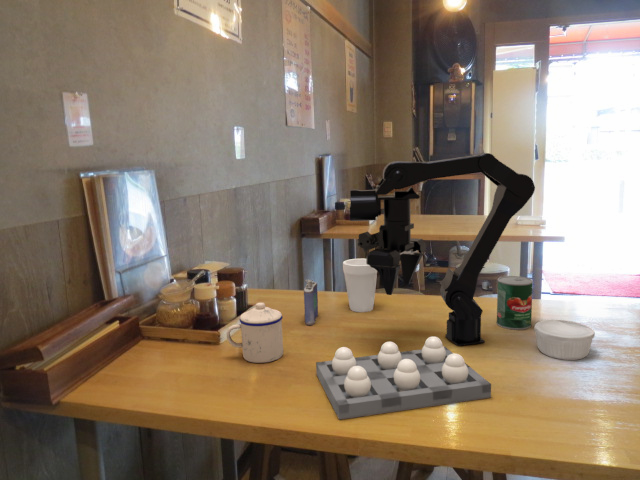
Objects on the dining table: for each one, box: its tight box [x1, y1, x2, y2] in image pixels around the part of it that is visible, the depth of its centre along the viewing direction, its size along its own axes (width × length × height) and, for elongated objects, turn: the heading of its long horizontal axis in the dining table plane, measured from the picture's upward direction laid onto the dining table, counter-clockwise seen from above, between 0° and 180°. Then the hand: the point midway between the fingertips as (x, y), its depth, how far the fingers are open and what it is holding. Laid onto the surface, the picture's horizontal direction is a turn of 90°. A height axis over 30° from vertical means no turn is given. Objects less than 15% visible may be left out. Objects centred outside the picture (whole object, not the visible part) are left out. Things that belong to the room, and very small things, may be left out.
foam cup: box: [342, 257, 379, 313], centre depth 142 cm, size 10×9×13 cm
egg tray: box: [315, 335, 492, 421], centre depth 96 cm, size 18×27×7 cm, turn 102°
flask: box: [303, 279, 319, 327], centre depth 134 cm, size 9×3×11 cm, turn 172°
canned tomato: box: [496, 275, 534, 331], centre depth 125 cm, size 8×8×11 cm
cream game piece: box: [394, 359, 420, 392], centre depth 91 cm, size 5×5×6 cm
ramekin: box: [533, 319, 595, 361], centre depth 108 cm, size 11×11×5 cm
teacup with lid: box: [226, 302, 284, 364], centre depth 112 cm, size 12×9×12 cm
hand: (398, 289), depth 116 cm, fingers open, 9 cm apart
